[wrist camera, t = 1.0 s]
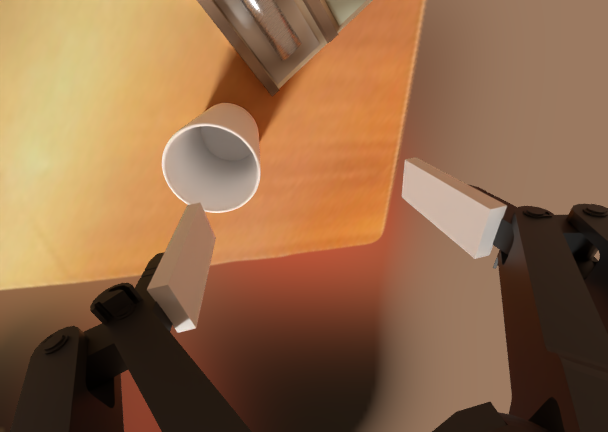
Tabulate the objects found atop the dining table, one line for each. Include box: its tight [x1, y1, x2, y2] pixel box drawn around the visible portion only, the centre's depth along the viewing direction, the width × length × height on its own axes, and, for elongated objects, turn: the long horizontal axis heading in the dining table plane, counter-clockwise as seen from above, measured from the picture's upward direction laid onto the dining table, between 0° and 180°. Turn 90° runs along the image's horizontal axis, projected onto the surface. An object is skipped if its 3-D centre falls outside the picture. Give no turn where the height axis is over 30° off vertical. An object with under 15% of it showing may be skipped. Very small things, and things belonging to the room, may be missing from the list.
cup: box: [162, 103, 261, 213], centre depth 28 cm, size 8×8×16 cm
